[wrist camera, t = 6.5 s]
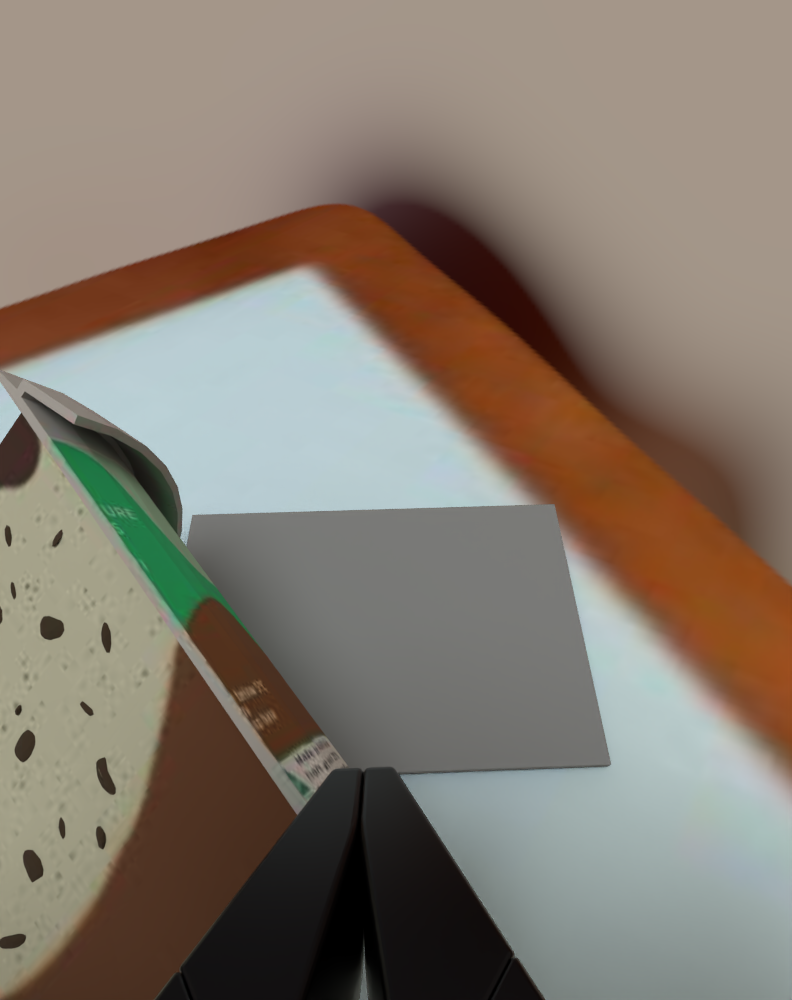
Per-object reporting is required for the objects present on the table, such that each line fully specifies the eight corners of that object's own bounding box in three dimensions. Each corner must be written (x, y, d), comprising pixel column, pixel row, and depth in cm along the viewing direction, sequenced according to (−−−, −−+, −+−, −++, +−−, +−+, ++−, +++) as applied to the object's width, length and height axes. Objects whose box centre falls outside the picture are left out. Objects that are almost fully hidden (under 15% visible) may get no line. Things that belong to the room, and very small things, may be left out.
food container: (490, 680, 13) (217, 413, 16) (422, 790, 8) (11, 343, 10) (179, 1010, 15) (-19, 723, 18) (-67, 1303, 10) (-308, 814, 12)
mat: (607, 766, 15) (610, 764, 15) (146, 783, 15) (142, 781, 15) (552, 509, 20) (554, 504, 19) (195, 519, 20) (192, 515, 19)
